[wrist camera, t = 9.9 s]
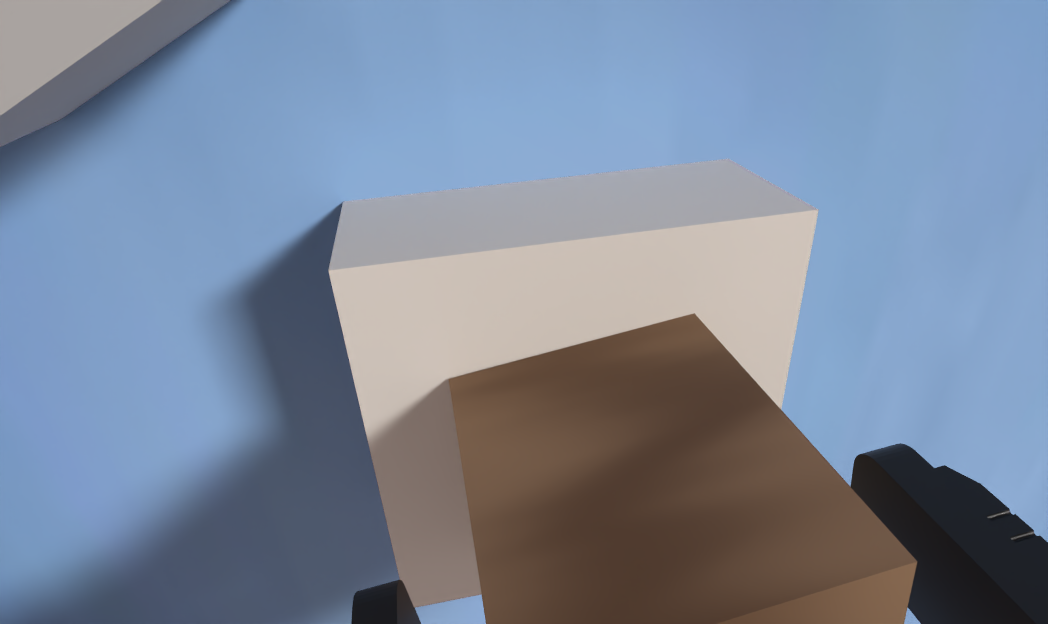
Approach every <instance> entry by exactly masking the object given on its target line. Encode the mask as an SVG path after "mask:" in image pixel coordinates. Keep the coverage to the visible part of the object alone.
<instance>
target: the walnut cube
mask: <svg viewBox="0 0 1048 624" xmlns="http://www.w3.org/2000/svg"><path fill="white" fill-rule="evenodd" d="M448 380H449V386H450V393H451V399H452V406H453V412H454V419H455V425H456V432H457V438H458V445H459V451H460V458H461V464H462V471H463V477H464V483H465V490H466V496H467V503H468V509H469V516H470V522H471V529H472V535H473V542H474V548H475V555H476V561H477V568H478V574H479V581H480V587H481V593H482V600H483V606H484V613H485V619H486V624H904V620H905V616H906V611H907V607H908V602H909V597H910V593H911V588H912V584H913V579H914V574H915V570H916V565H917V561H916V559H915V558H914V557H913V556H912V555H911V554H910V553H909V552H908V551H907V549H906V548H905V547H904V546H903V545H902V544H901V543H900V542H899V541H898V539H897V538H896V537H895V536H894V535H893V534H892V533H891V532H890V531H889V529H888V528H887V527H886V526H885V525H884V524H883V523H882V522H881V520H880V519H879V518H878V517H877V516H876V515H875V514H874V513H873V512H872V510H871V509H870V508H869V507H868V506H867V505H866V504H865V503H864V502H863V500H862V499H861V498H860V497H859V496H858V495H857V494H856V493H855V492H854V490H853V489H852V488H851V487H850V486H849V485H848V484H847V483H846V482H845V480H844V479H843V478H842V477H841V476H840V475H839V474H838V473H837V471H836V470H835V469H834V468H833V467H832V466H831V465H830V464H829V463H828V461H827V460H826V459H825V458H824V457H823V456H822V455H821V454H820V453H819V451H818V450H817V449H816V448H815V447H814V446H813V445H812V444H811V443H810V441H809V440H808V439H807V438H806V437H805V436H804V435H803V434H802V432H801V431H800V430H799V429H798V428H797V427H796V426H795V425H794V424H793V422H792V421H791V420H790V419H789V418H788V417H787V416H786V415H785V414H784V412H783V411H782V410H781V409H780V408H779V407H778V406H777V405H776V404H775V402H774V401H773V400H772V399H771V398H770V397H769V396H768V395H767V393H766V392H765V391H764V390H763V389H762V388H761V387H760V386H759V385H758V383H757V382H756V381H755V380H754V379H753V378H752V377H751V376H750V375H749V373H748V372H747V371H746V370H745V369H744V368H743V367H742V366H741V365H740V363H739V362H738V361H737V360H736V359H735V358H734V357H733V356H732V355H731V353H730V352H729V351H728V350H727V349H726V348H725V347H724V346H723V344H722V343H721V342H720V341H719V340H718V339H717V338H716V337H715V336H714V334H713V333H712V332H711V331H710V330H709V329H708V328H707V327H706V326H705V324H704V323H703V322H702V321H701V320H700V319H699V318H698V317H697V316H696V314H695V313H694V314H690V315H686V316H682V317H678V318H674V319H671V320H667V321H663V322H660V323H656V324H652V325H648V326H645V327H641V328H637V329H633V330H630V331H626V332H622V333H619V334H615V335H611V336H607V337H604V338H600V339H596V340H592V341H589V342H585V343H581V344H577V345H574V346H570V347H566V348H563V349H559V350H555V351H551V352H548V353H544V354H540V355H536V356H533V357H529V358H525V359H522V360H518V361H514V362H510V363H507V364H503V365H499V366H495V367H492V368H488V369H484V370H480V371H477V372H473V373H469V374H466V375H462V376H458V377H454V378H451V379H448Z"/></svg>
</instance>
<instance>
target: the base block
mask: <svg viewBox="0 0 1048 624" xmlns="http://www.w3.org/2000/svg"><path fill="white" fill-rule="evenodd" d="M817 215H818V209H816V208H815V207H813V206H811V205H809V204H808V203H806V202H804V201H802V200H801V199H799V198H797V197H795V196H793V195H792V194H790V193H788V192H786V191H785V190H783V189H781V188H779V187H778V186H776V185H774V184H772V183H770V182H769V181H767V180H765V179H763V178H762V177H760V176H758V175H756V174H755V173H753V172H751V171H749V170H748V169H746V168H744V167H742V166H740V165H739V164H737V163H735V162H733V161H732V160H730V159H722V160H713V161H704V162H695V163H686V164H677V165H668V166H659V167H650V168H641V169H632V170H623V171H614V172H605V173H596V174H587V175H578V176H569V177H560V178H551V179H542V180H533V181H524V182H515V183H506V184H497V185H488V186H479V187H470V188H461V189H452V190H443V191H434V192H425V193H416V194H407V195H398V196H389V197H380V198H371V199H362V200H353V201H344V202H343V204H342V209H341V214H340V219H339V223H338V228H337V233H336V237H335V242H334V247H333V251H332V256H331V261H330V265H329V270H328V271H329V275H330V280H331V284H332V288H333V293H334V297H335V301H336V306H337V310H338V314H339V319H340V323H341V327H342V332H343V336H344V340H345V345H346V349H347V353H348V358H349V362H350V366H351V371H352V375H353V379H354V384H355V388H356V392H357V396H358V401H359V405H360V409H361V414H362V418H363V422H364V427H365V431H366V435H367V440H368V444H369V448H370V453H371V457H372V461H373V466H374V470H375V474H376V479H377V483H378V487H379V492H380V496H381V500H382V505H383V509H384V513H385V517H386V522H387V526H388V530H389V535H390V539H391V543H392V548H393V552H394V556H395V561H396V565H397V569H398V574H399V578H400V580H402V581H403V583H404V585H405V587H406V590H407V592H408V594H409V597H410V599H411V601H412V604H413V606H414V608H415V607H420V606H425V605H430V604H435V603H440V602H445V601H450V600H455V599H460V598H465V597H471V596H476V595H481V594H482V593H481V587H480V581H479V574H478V568H477V561H476V555H475V548H474V542H473V535H472V529H471V522H470V516H469V509H468V503H467V496H466V490H465V483H464V477H463V471H462V464H461V458H460V451H459V445H458V438H457V432H456V425H455V419H454V412H453V406H452V399H451V393H450V386H449V380H448V379H451V378H454V377H458V376H462V375H466V374H469V373H473V372H477V371H480V370H484V369H488V368H492V367H495V366H499V365H503V364H507V363H510V362H514V361H518V360H522V359H525V358H529V357H533V356H536V355H540V354H544V353H548V352H551V351H555V350H559V349H563V348H566V347H570V346H574V345H577V344H581V343H585V342H589V341H592V340H596V339H600V338H604V337H607V336H611V335H615V334H619V333H622V332H626V331H630V330H633V329H637V328H641V327H645V326H648V325H652V324H656V323H660V322H663V321H667V320H671V319H674V318H678V317H682V316H686V315H690V314H694V313H695V314H696V316H697V317H698V318H699V319H700V320H701V321H702V322H703V323H704V324H705V326H706V327H707V328H708V329H709V330H710V331H711V332H712V333H713V334H714V336H715V337H716V338H717V339H718V340H719V341H720V342H721V343H722V344H723V346H724V347H725V348H726V349H727V350H728V351H729V352H730V353H731V355H732V356H733V357H734V358H735V359H736V360H737V361H738V362H739V363H740V365H741V366H742V367H743V368H744V369H745V370H746V371H747V372H748V373H749V375H750V376H751V377H752V378H753V379H754V380H755V381H756V382H757V383H758V385H759V386H760V387H761V388H762V389H763V390H764V391H765V392H766V393H767V395H768V396H769V397H770V398H771V399H772V400H773V401H774V402H775V404H776V405H777V406H778V407H779V408H780V409H781V407H782V402H783V397H784V391H785V386H786V381H787V375H788V370H789V365H790V359H791V354H792V349H793V343H794V338H795V333H796V327H797V322H798V317H799V311H800V306H801V301H802V295H803V290H804V285H805V279H806V274H807V269H808V263H809V258H810V253H811V247H812V242H813V237H814V231H815V226H816V221H817Z"/></svg>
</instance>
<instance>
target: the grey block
mask: <svg viewBox="0 0 1048 624" xmlns="http://www.w3.org/2000/svg"><path fill="white" fill-rule="evenodd" d="M229 1H231V0H0V147H1V146H4V145H6V144H8V143H10V142H12V141H15V140H17V139H19V138H21V137H23V136H26V135H28V134H30V133H32V132H34V131H37V130H39V129H41V128H43V127H45V126H48V125H50V124H52V123H54V122H56V121H59V120H61V119H62V118H64V117H65V116H67V115H68V114H70V113H71V112H72V111H74V110H75V109H77V108H78V107H80V106H81V105H82V104H84V103H85V102H87V101H88V100H90V99H91V98H92V97H94V96H95V95H97V94H98V93H100V92H101V91H102V90H104V89H105V88H107V87H108V86H109V85H111V84H112V83H114V82H115V81H117V80H118V79H119V78H121V77H122V76H124V75H125V74H127V73H128V72H129V71H131V70H132V69H134V68H135V67H137V66H138V65H139V64H141V63H142V62H144V61H145V60H147V59H148V58H149V57H151V56H152V55H154V54H155V53H157V52H158V51H159V50H161V49H162V48H164V47H165V46H167V45H168V44H169V43H171V42H172V41H174V40H175V39H177V38H178V37H179V36H181V35H182V34H184V33H185V32H186V31H188V30H189V29H191V28H192V27H194V26H195V25H196V24H198V23H199V22H201V21H202V20H204V19H205V18H206V17H208V16H209V15H211V14H212V13H214V12H215V11H216V10H218V9H219V8H221V7H222V6H224V5H225V4H226V3H228V2H229Z"/></svg>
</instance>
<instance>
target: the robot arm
mask: <svg viewBox="0 0 1048 624" xmlns="http://www.w3.org/2000/svg"><path fill="white" fill-rule="evenodd" d="M851 488H852V489H853V490H854V492H855V493H856V494H857V495H858V496H859V497H860V498H861V499H862V500H863V502H864V503H865V504H866V505H867V506H868V507H869V508H870V509H871V510H872V512H873V513H874V514H875V515H876V516H877V517H878V518H879V519H880V520H881V522H882V523H883V524H884V525H885V526H886V527H887V528H888V529H889V531H890V532H891V533H892V534H893V535H894V536H895V537H896V538H897V539H898V541H899V542H900V543H901V544H902V545H903V546H904V547H905V548H906V549H907V551H908V552H909V553H910V554H911V555H912V556H913V557H914V558H915V559H916V561H917V565H916V570H915V574H914V579H913V584H912V588H911V593H910V597H909V602H908V608H909V609H910V611H911V612H912V613H913V614H914V615H915V617H916V618H917V619H918V620H919V622H920V623H921V624H1048V542H1047V541H1045V540H1044V539H1043V538H1042V537H1041V536H1036V535H1035V534H1034V530H1033V529H1032V528H1031V527H1029V526H1028V525H1027V524H1026V523H1025V522H1024V521H1023V520H1021V519H1020V518H1019V517H1018V516H1017V515H1016V514H1014V515H1012V514H1011V513H1010V510H1009V508H1008V507H1006V506H1005V505H1004V504H1003V503H1002V502H1001V501H1000V500H998V499H997V498H996V497H995V496H994V495H993V494H992V493H990V492H989V491H988V490H987V489H986V488H985V487H984V486H982V485H981V484H980V483H978V482H976V481H974V480H972V479H970V478H968V477H966V476H964V475H962V474H960V473H958V472H956V471H954V470H953V469H951V468H949V467H947V466H945V465H944V466H941V467H937V468H933V467H932V466H931V465H930V464H929V463H928V462H927V461H926V460H925V459H924V458H922V457H921V456H920V455H919V454H918V453H917V452H916V451H915V450H914V449H912V448H911V447H909V446H907V445H905V444H895V445H892V446H888V447H885V448H881V449H877V450H874V451H870V452H867V453H863V454H860V455H858V456H857V457H856V458H855V461H854V466H853V474H852V481H851ZM352 624H421V622H420V620H419V618H418V615H417V613H416V611H415V608H414V606H413V604H412V601H411V599H410V597H409V594H408V592H407V590H406V587H405V585H404V583H403V581H402V580H397V581H393V582H390V583H386V584H382V585H379V586H375V587H371V588H368V589H364V590H361V591H357V592H356V593H355V595H354V599H353V607H352Z"/></svg>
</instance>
